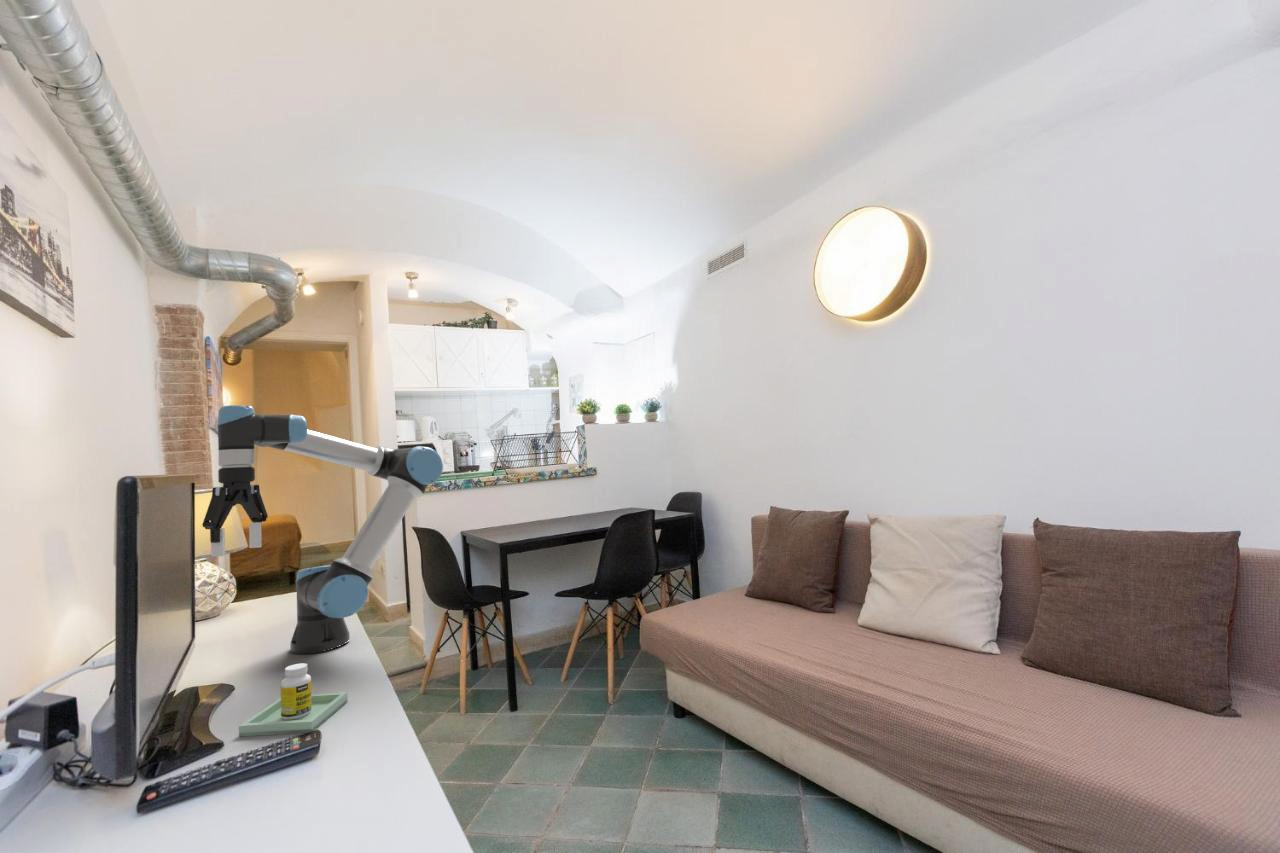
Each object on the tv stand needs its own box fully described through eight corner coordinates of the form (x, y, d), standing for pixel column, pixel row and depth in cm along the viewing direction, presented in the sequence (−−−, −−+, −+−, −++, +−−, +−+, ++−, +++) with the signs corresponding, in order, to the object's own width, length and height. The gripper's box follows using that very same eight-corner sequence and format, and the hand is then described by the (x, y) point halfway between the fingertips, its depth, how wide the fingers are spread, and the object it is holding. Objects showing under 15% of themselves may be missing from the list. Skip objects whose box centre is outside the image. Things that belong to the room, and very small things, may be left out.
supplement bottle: (297, 721, 115) (296, 671, 115) (274, 720, 116) (273, 671, 116) (317, 709, 120) (316, 662, 121) (295, 708, 121) (294, 661, 122)
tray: (283, 705, 125) (282, 696, 125) (347, 701, 125) (347, 692, 125) (239, 736, 111) (238, 725, 111) (311, 732, 111) (311, 721, 111)
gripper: (254, 467, 157) (255, 545, 155) (183, 468, 132) (183, 561, 131) (281, 465, 157) (283, 543, 156) (215, 466, 132) (216, 559, 131)
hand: (237, 551), depth 143 cm, fingers open, 13 cm apart
